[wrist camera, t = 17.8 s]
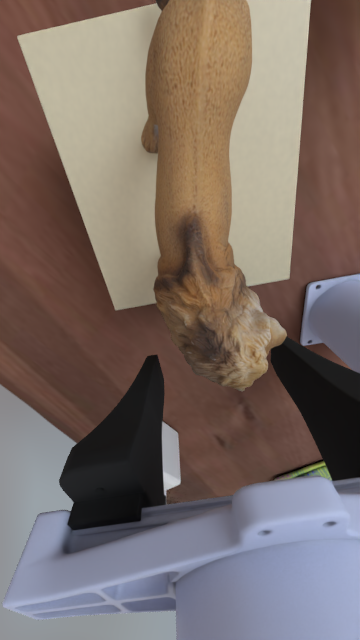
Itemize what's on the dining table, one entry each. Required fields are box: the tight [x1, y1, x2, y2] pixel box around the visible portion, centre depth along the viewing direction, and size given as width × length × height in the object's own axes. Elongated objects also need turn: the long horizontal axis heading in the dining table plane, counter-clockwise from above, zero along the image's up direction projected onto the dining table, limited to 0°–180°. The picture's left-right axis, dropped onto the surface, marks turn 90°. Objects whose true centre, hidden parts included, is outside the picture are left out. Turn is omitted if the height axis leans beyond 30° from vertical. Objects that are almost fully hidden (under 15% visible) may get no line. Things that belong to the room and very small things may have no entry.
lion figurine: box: [141, 0, 287, 391], centre depth 9 cm, size 15×5×9 cm, turn 12°
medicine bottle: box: [162, 421, 181, 505], centre depth 28 cm, size 7×7×12 cm
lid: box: [17, 0, 311, 310], centre depth 13 cm, size 13×13×1 cm
